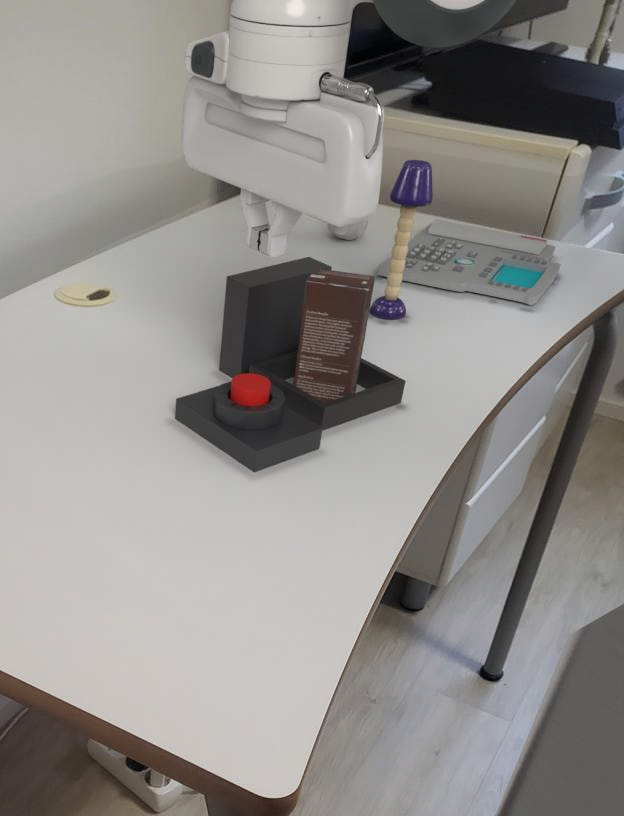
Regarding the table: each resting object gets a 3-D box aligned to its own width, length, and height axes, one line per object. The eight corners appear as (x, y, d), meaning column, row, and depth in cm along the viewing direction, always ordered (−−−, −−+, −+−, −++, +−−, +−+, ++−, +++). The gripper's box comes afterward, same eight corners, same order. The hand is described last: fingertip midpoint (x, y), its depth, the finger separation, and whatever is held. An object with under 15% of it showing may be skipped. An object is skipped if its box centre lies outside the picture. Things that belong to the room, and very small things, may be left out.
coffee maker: (401, 403, 98) (422, 306, 92) (320, 431, 93) (337, 331, 87) (296, 347, 108) (308, 256, 101) (218, 370, 103) (226, 276, 96)
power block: (319, 449, 91) (325, 410, 88) (254, 473, 87) (258, 433, 84) (238, 399, 98) (241, 361, 95) (174, 419, 94) (176, 380, 92)
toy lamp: (365, 304, 118) (392, 156, 107) (403, 304, 118) (433, 157, 108) (374, 319, 115) (402, 168, 104) (412, 320, 115) (445, 169, 104)
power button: (276, 402, 90) (279, 384, 89) (246, 411, 88) (248, 394, 87) (251, 387, 92) (253, 370, 91) (222, 396, 90) (223, 378, 89)
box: (356, 391, 100) (377, 274, 92) (348, 410, 97) (369, 290, 89) (299, 381, 102) (315, 264, 94) (289, 399, 98) (305, 280, 90)
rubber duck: (371, 237, 137) (382, 176, 132) (353, 250, 133) (363, 188, 128) (336, 229, 139) (345, 169, 134) (317, 241, 135) (325, 180, 130)
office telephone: (434, 211, 139) (577, 237, 132) (430, 230, 141) (571, 257, 134) (380, 255, 124) (539, 288, 116) (376, 276, 125) (532, 310, 118)
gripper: (418, 85, 67) (381, 283, 76) (233, 37, 80) (220, 212, 89) (353, 94, 65) (323, 299, 74) (172, 43, 77) (164, 223, 86)
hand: (265, 251), depth 81 cm, fingers closed
